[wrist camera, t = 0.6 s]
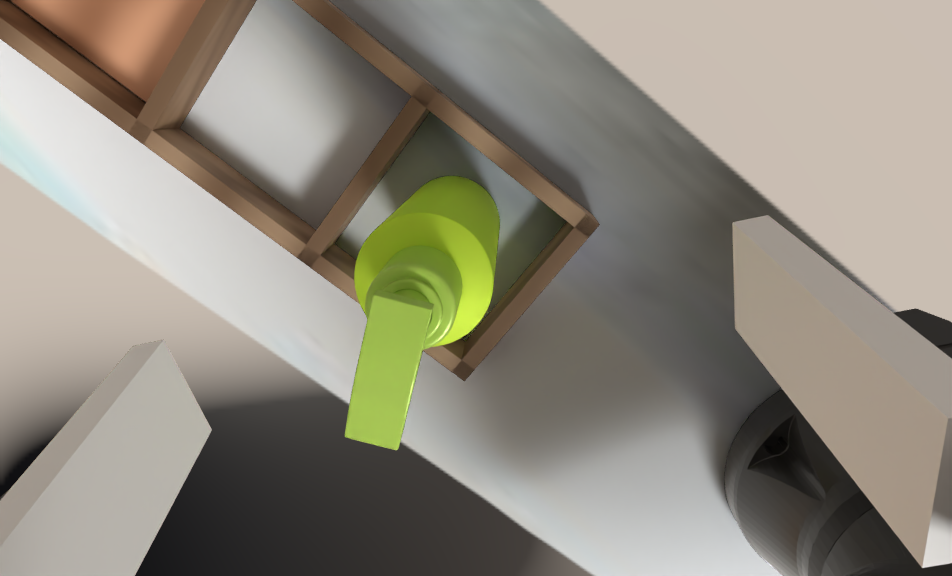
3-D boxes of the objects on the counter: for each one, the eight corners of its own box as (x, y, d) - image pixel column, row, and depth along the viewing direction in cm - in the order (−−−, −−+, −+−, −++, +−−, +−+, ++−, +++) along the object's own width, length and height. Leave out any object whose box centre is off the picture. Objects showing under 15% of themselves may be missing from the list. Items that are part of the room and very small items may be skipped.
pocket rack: (593, 215, 38) (599, 224, 35) (467, 361, 41) (464, 381, 38) (85, -197, 33) (44, -226, 30) (-11, 5, 36) (-56, -3, 33)
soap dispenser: (393, 271, 40) (281, 430, 20) (416, 164, 38) (316, 230, 18) (482, 294, 40) (453, 474, 21) (510, 189, 38) (508, 280, 18)
